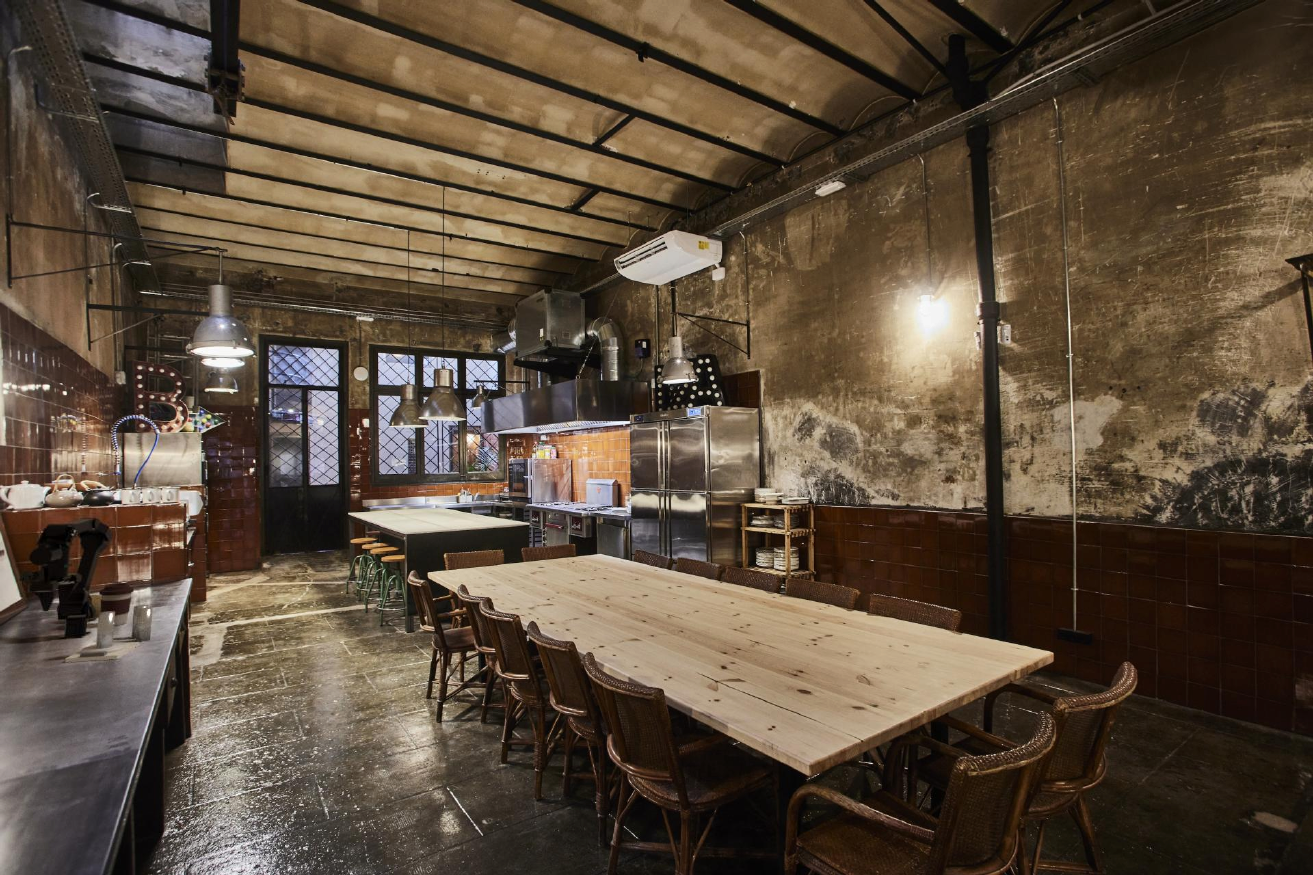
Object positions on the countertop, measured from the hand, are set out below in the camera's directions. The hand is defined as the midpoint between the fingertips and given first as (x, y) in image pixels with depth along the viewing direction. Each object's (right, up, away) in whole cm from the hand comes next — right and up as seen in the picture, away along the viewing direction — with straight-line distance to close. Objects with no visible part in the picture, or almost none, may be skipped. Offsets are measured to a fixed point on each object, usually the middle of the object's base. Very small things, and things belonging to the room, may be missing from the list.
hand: (54, 608), depth 206 cm
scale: (+22, -13, -5) cm, 26 cm away
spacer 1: (+22, -11, -5) cm, 25 cm away
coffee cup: (-6, -15, +30) cm, 34 cm away
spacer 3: (+21, -14, +10) cm, 27 cm away
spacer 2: (+17, -14, +14) cm, 26 cm away
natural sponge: (-20, -15, +35) cm, 43 cm away
